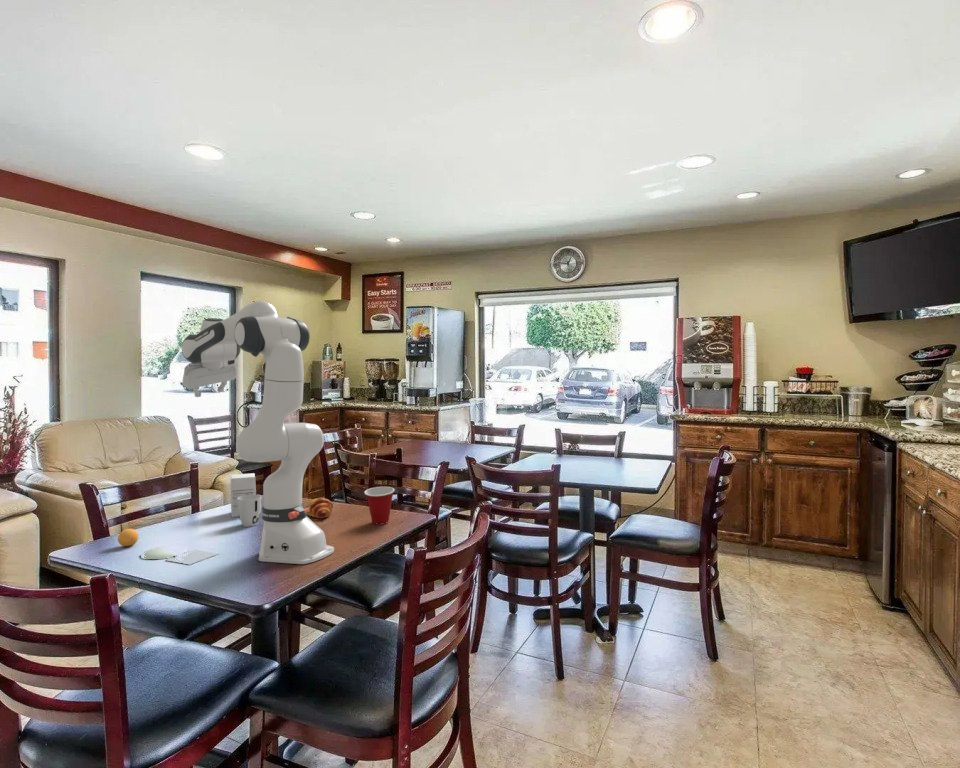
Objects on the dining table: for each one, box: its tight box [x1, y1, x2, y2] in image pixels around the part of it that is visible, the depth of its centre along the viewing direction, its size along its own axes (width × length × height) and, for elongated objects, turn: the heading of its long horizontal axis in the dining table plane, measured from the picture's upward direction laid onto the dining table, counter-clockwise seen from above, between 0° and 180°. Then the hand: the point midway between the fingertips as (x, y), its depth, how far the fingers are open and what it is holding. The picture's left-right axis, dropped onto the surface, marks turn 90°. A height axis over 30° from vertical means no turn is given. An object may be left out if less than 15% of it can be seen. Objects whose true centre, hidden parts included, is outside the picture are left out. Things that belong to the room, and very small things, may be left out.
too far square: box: [166, 549, 219, 566], centre depth 160 cm, size 10×10×1 cm
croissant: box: [305, 497, 334, 519], centre depth 209 cm, size 21×10×8 cm, turn 29°
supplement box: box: [230, 472, 257, 518], centre depth 211 cm, size 9×9×15 cm
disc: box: [144, 546, 188, 560], centre depth 165 cm, size 13×13×1 cm
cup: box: [237, 494, 263, 528], centre depth 195 cm, size 8×8×10 cm
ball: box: [117, 528, 139, 547], centre depth 172 cm, size 6×6×6 cm
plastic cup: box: [364, 486, 395, 525], centre depth 195 cm, size 11×11×12 cm
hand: (209, 393), depth 205 cm, fingers open, 8 cm apart
